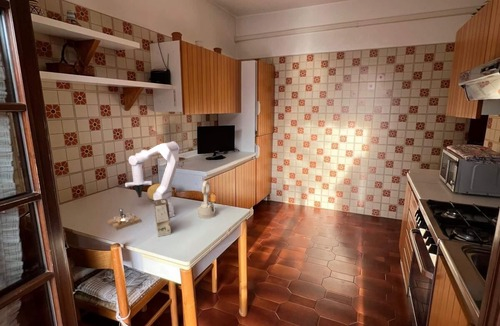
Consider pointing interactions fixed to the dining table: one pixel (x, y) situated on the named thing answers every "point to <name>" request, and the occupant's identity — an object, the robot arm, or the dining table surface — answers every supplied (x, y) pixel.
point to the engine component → (206, 203)
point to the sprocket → (123, 217)
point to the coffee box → (162, 217)
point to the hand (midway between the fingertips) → (140, 196)
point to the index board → (124, 224)
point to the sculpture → (152, 190)
